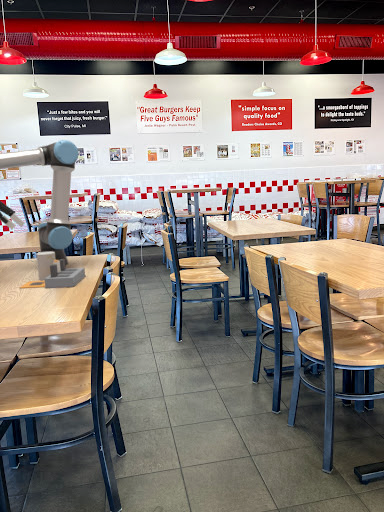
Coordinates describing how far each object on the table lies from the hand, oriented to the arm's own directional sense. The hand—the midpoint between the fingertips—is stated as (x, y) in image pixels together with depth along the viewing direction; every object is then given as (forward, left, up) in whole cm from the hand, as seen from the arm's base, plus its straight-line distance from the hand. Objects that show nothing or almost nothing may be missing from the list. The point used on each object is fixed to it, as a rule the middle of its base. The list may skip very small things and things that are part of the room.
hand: (18, 226), depth 195 cm
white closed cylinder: (0, +11, -25) cm, 28 cm away
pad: (+12, +10, -25) cm, 29 cm away
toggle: (+9, +18, -20) cm, 29 cm away
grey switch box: (+9, +22, -25) cm, 34 cm away
